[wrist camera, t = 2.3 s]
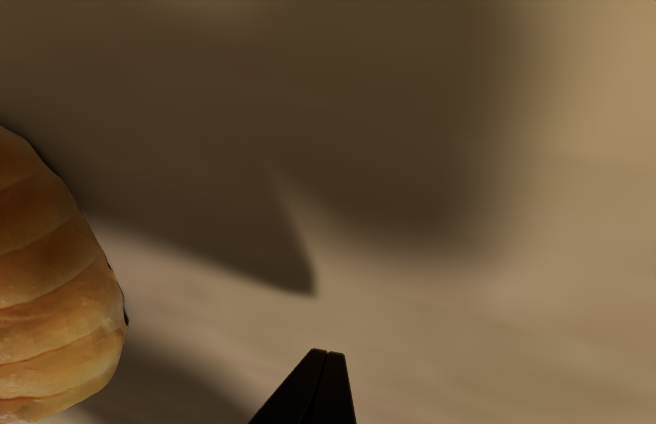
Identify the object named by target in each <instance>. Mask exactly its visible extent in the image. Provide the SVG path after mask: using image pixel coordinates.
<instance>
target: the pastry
mask: <svg viewBox="0 0 656 424" xmlns="http://www.w3.org/2000/svg"><path fill="white" fill-rule="evenodd" d="M123 306H124V298H123V295H122V292H121V290H120V288H119V285H118V283H117V281H116V277H115V275H114V272H113V271H112V270H111V269H110V268H109V266H108V264H107V261H106V257H105V254H104V251H103V250H102V248H101V246H100V245H99V243H98V241H97V240H96V238H95V236H94V234H93V232H92V230H91V229H90V227H89V225H88V223H87V221H86V219H85V217H84V215H83V213H82V211H81V209H80V208H79V206H78V204H77V202H76V201H75V199H74V197H73V195H72V194H71V192H70V190H69V189H68V187H67V186H66V185H65V183H64V182H63V180H62V179H61V178H60V177H59V176H57V175H56V174H55V173H53V172H52V171H51V170H50V169H49V168H48V167H47V166H46V165H45V164H44V162H43V161H42V160H41V159H40V157H39V156H38V155H37V153H36V152H35V151H34V149H33V148H32V146H31V145H30V144H29V143H28V142H27V141H26V140H25V139H24V138H23V137H21V136H19V135H16V134H14V133H12V132H11V131H9V130H7V129H5V128H4V127H2V126H1V125H0V424H4V423H8V422H12V421H16V420H25V421H27V422H33V421H37V420H39V419H42V418H45V417H48V416H51V415H54V414H56V413H59V412H62V411H64V410H65V409H67V408H69V407H71V406H72V405H74V404H76V403H78V402H81V401H83V400H85V399H86V398H88V397H89V396H91V395H93V394H95V393H97V392H99V391H100V390H101V389H102V388H104V387H105V386H106V385H107V384H108V382H109V381H110V380H111V378H112V377H113V375H114V373H115V370H116V368H117V366H118V363H119V360H120V356H121V352H122V348H123V344H124V341H125V337H126V334H127V330H128V326H126V324H125V320H124V312H123Z"/></svg>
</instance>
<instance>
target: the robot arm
mask: <svg viewBox="0 0 656 424" xmlns="http://www.w3.org/2000/svg"><path fill="white" fill-rule="evenodd" d="M247 424H357V423H356V417H355V411H354V406H353V400H352V394H351V388H350V383H349V377H348V371H347V366H346V360H345V356H344V354H343V353H338V352H332V351H330V352H329V353H328V352H327V351H326V350H321V349H316V348H313V349H311V350H310V351H309V352H308V353H307V354H306V356H305V357H304V358H303V359H302V360H301V361H300V363H299V364H298V365H297V366H296V367H295V368H294V370H293V371H292V372H291V373H290V374H289V375H288V377H287V378H286V379H285V380H284V381H283V382H282V384H281V385H280V386H279V387H278V388H277V389H276V391H275V392H274V393H273V394H272V395H271V396H270V398H269V399H268V400H267V401H266V402H265V403H264V405H263V406H262V407H261V408H260V409H259V410H258V412H257V413H256V414H255V415H254V416H253V417H252V419H251V420H250V421H249V422H248V423H247Z"/></svg>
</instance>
